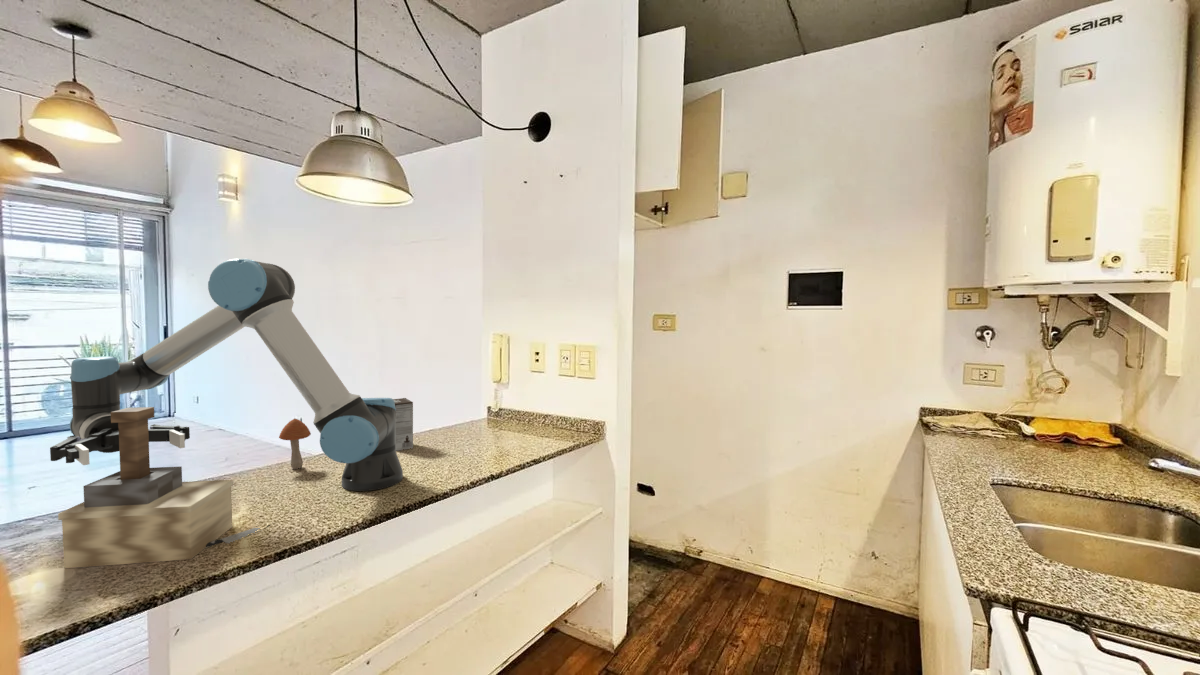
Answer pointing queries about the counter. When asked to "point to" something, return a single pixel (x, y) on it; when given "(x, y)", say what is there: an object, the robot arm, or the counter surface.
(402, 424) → the coffee box
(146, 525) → the tan two-tone block
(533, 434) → the counter surface
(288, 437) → the mushroom
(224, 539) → the chef's knife
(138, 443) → the brown t-shaped block
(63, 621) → the counter surface
